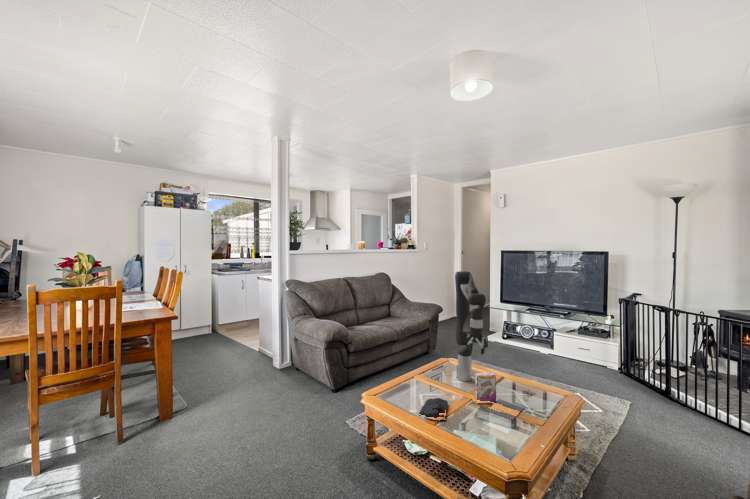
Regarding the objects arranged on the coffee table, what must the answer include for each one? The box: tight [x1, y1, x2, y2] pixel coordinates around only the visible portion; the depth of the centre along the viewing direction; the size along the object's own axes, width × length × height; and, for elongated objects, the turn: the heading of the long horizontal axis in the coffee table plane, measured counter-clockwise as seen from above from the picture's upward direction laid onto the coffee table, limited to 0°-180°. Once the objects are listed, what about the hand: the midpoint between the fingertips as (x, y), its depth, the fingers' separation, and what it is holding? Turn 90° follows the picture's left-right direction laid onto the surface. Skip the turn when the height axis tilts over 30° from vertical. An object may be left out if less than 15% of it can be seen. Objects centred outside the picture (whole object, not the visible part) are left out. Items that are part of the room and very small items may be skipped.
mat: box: [485, 398, 525, 421], centre depth 186 cm, size 15×18×1 cm
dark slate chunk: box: [418, 397, 449, 418], centre depth 184 cm, size 15×22×5 cm
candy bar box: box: [474, 372, 497, 403], centre depth 194 cm, size 11×5×16 cm, turn 84°
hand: (475, 352), depth 199 cm, fingers open, 8 cm apart
